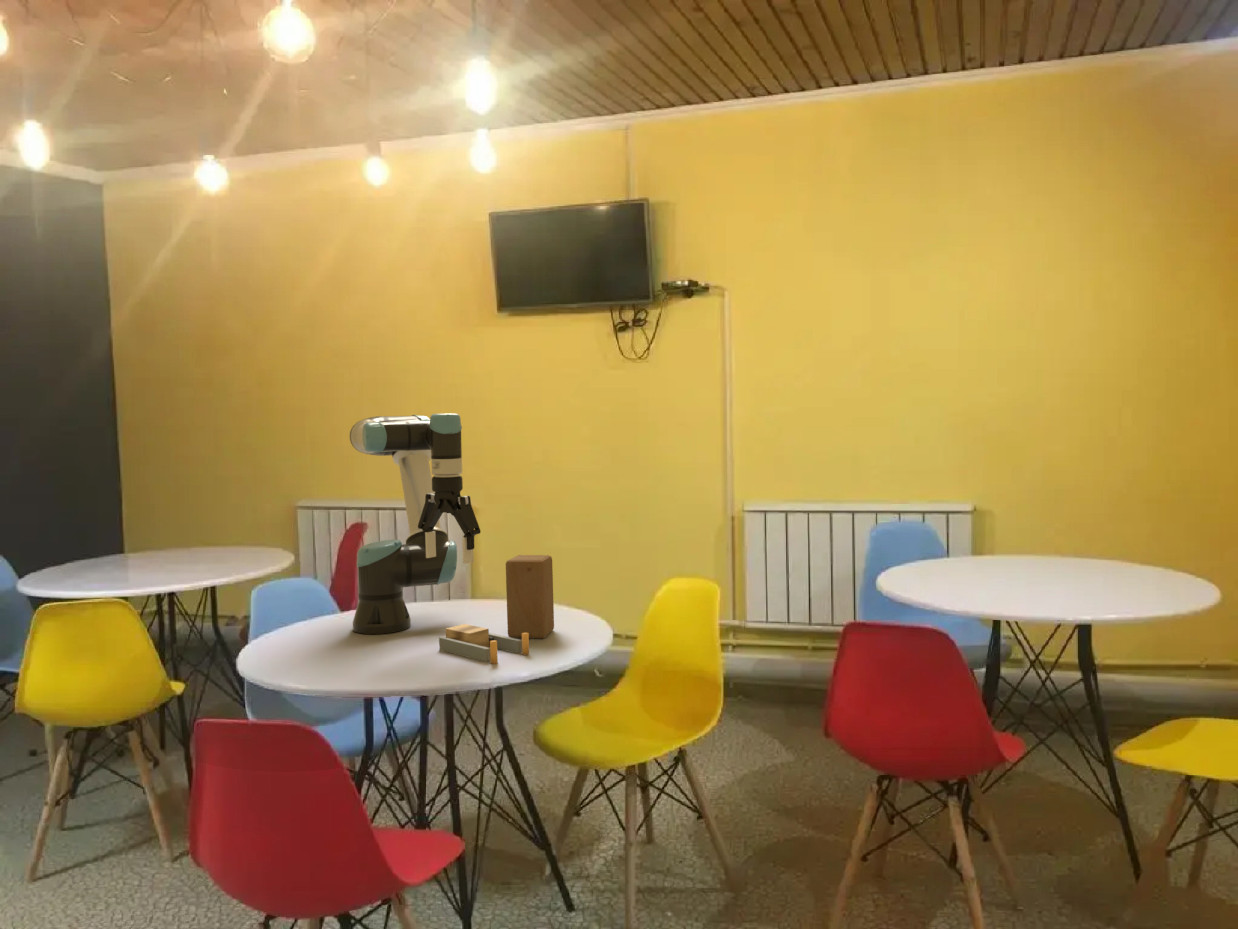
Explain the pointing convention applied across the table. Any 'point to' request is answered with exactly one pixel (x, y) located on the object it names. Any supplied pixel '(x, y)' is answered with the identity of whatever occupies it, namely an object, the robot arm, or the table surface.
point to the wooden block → (530, 596)
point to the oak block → (469, 634)
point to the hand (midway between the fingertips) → (449, 560)
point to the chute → (485, 652)
